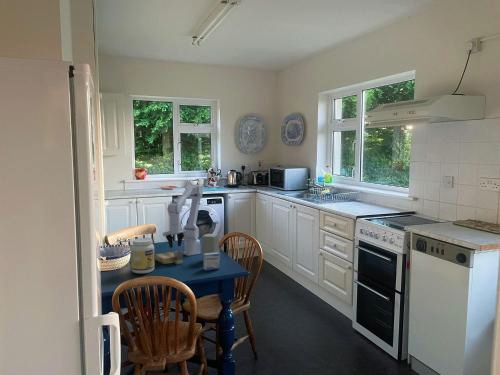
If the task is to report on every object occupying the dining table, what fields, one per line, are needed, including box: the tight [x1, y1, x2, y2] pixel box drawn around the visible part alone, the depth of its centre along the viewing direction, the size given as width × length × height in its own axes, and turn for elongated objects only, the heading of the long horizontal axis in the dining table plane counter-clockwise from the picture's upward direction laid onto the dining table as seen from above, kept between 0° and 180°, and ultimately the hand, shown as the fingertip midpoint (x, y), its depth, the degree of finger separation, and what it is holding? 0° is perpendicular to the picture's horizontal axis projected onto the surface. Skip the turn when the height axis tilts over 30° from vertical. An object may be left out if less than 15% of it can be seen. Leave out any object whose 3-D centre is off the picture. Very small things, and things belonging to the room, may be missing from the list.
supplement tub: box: [130, 237, 156, 274], centre depth 205 cm, size 12×12×17 cm
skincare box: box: [201, 233, 221, 262], centre depth 223 cm, size 8×7×16 cm
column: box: [173, 249, 184, 265], centre depth 219 cm, size 4×4×7 cm
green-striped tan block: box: [154, 251, 174, 265], centre depth 226 cm, size 12×12×3 cm
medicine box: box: [202, 252, 220, 271], centre depth 209 cm, size 8×4×9 cm, turn 114°
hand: (175, 246), depth 222 cm, fingers open, 5 cm apart
